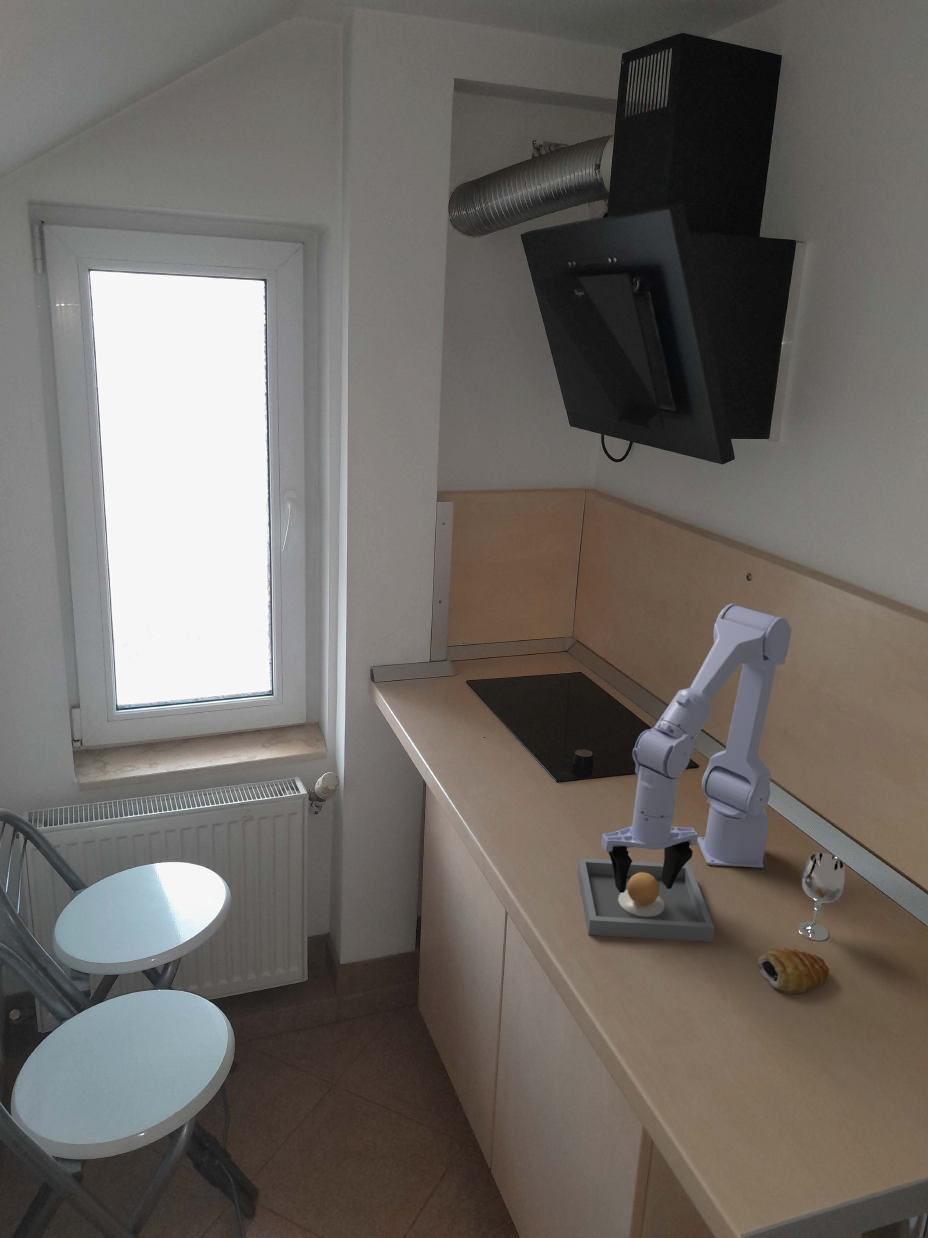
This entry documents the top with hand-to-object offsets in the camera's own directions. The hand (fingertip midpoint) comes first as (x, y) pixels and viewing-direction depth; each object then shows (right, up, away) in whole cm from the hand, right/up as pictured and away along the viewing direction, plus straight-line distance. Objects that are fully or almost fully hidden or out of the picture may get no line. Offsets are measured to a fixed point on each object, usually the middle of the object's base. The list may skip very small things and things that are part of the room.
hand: (643, 887), depth 137 cm
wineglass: (+25, -6, -3) cm, 26 cm away
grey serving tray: (0, -3, +1) cm, 3 cm away
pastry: (+18, -9, -13) cm, 24 cm away
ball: (0, 0, 0) cm, 0 cm away
